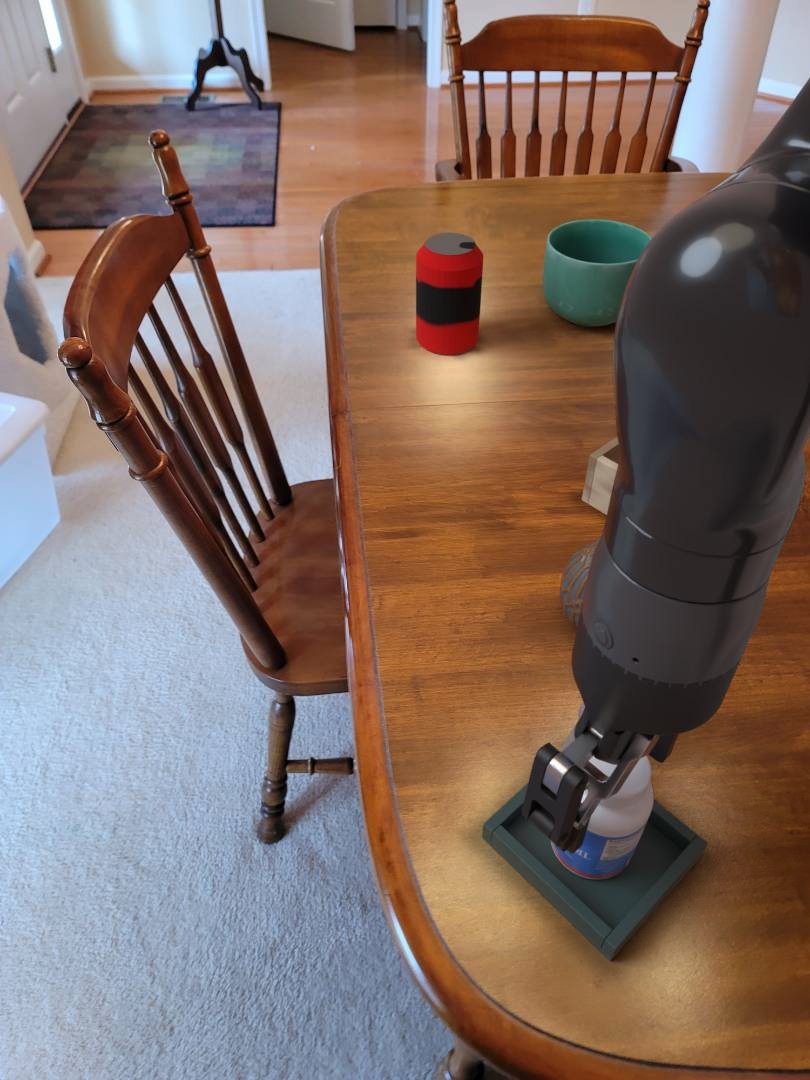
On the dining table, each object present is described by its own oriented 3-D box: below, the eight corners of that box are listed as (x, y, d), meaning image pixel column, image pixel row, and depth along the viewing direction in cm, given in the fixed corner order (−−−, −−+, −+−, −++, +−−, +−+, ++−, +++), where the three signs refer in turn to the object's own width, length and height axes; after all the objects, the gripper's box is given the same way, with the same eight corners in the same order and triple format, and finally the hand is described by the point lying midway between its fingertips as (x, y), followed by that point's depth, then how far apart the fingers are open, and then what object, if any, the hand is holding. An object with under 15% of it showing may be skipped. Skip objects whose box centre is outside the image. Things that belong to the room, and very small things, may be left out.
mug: (544, 338, 101) (553, 264, 94) (533, 289, 110) (541, 218, 103) (681, 339, 101) (700, 264, 94) (660, 289, 110) (675, 218, 103)
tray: (701, 856, 54) (708, 842, 53) (610, 962, 50) (615, 949, 48) (574, 751, 60) (577, 736, 59) (481, 837, 55) (483, 823, 54)
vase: (620, 664, 65) (641, 588, 59) (540, 628, 68) (553, 551, 62) (652, 609, 70) (675, 532, 63) (576, 576, 72) (591, 500, 66)
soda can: (473, 359, 98) (479, 261, 89) (410, 352, 99) (410, 255, 90) (482, 326, 103) (488, 232, 95) (422, 321, 104) (423, 226, 96)
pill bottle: (533, 821, 56) (550, 741, 49) (602, 792, 57) (627, 710, 50) (577, 897, 52) (601, 821, 45) (649, 864, 53) (683, 785, 47)
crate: (740, 503, 79) (757, 458, 75) (675, 557, 74) (689, 511, 70) (647, 453, 85) (658, 408, 81) (581, 500, 80) (589, 454, 76)
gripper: (639, 758, 33) (582, 922, 44) (817, 580, 40) (729, 761, 51) (500, 649, 37) (480, 825, 48) (684, 505, 44) (629, 688, 55)
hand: (608, 792), depth 50 cm, fingers open, 8 cm apart
